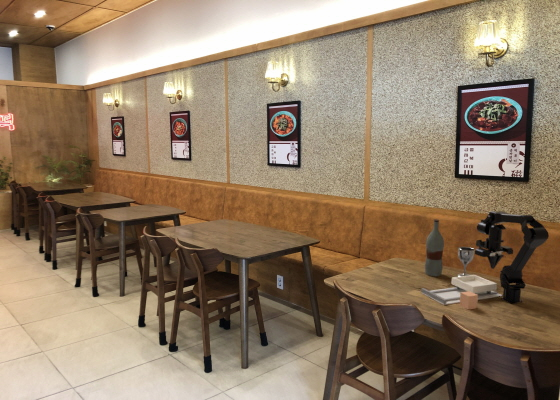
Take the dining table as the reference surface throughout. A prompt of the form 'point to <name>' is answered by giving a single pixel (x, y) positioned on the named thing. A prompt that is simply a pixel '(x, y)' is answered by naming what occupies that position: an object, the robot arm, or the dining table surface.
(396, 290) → the dining table surface
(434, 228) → the bottle
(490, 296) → the track
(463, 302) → the block
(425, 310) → the dining table surface
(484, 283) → the cream rimmed tray
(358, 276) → the dining table surface
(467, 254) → the wine glass
